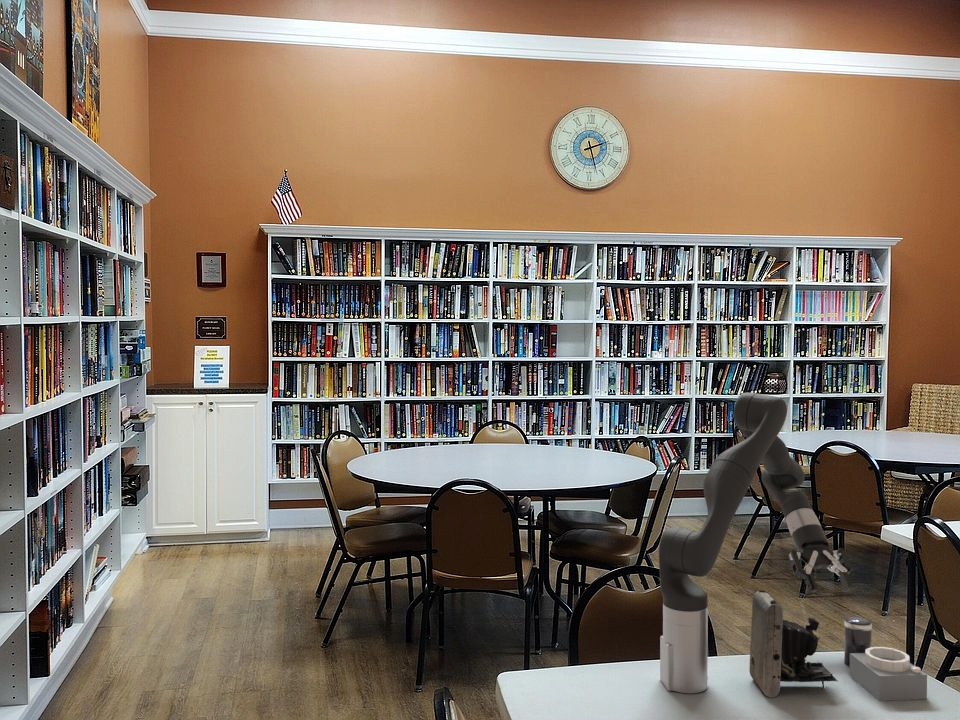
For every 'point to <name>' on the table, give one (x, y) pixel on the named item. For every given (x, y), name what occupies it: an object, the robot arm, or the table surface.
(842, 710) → the table surface
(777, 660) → the vintage camera
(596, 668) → the table surface
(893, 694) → the grey base with ring
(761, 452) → the robot arm
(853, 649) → the lens
